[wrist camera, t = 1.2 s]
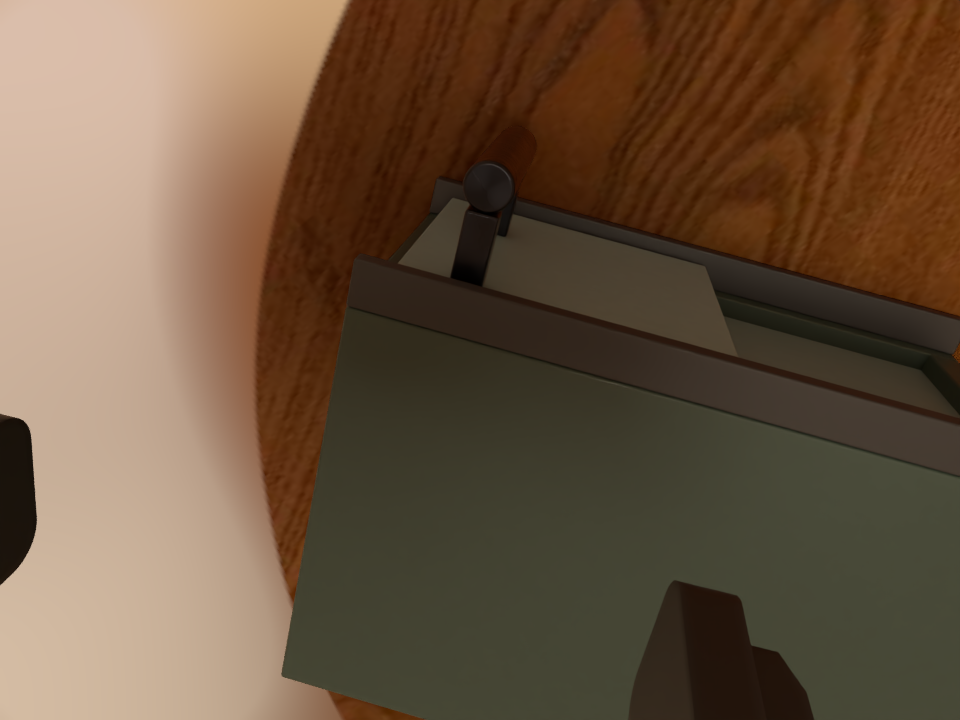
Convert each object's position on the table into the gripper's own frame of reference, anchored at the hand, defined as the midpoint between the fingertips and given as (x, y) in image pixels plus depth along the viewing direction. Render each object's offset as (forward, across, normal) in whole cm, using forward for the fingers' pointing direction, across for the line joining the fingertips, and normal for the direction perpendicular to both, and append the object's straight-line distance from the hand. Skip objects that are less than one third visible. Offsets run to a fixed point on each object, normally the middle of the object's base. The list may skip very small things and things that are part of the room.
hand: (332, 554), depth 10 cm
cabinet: (+19, -6, +7) cm, 21 cm away
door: (+19, -3, -1) cm, 19 cm away
